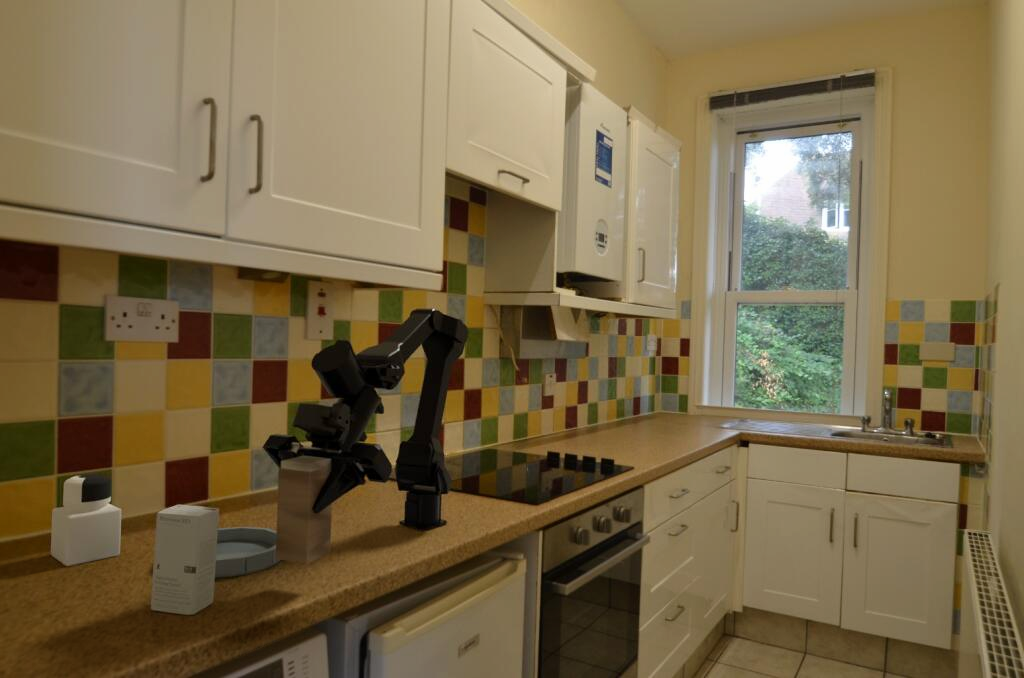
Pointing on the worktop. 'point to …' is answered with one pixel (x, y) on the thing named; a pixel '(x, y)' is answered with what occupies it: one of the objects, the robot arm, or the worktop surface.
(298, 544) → the walnut block
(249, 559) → the slate dish
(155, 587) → the skincare box
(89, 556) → the medicine bottle
